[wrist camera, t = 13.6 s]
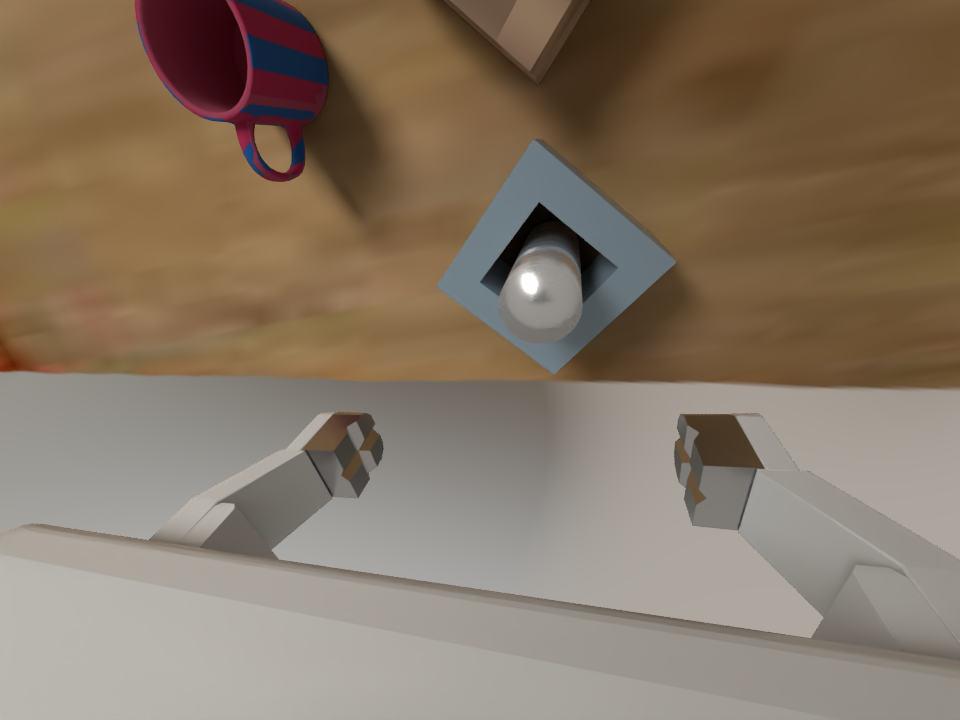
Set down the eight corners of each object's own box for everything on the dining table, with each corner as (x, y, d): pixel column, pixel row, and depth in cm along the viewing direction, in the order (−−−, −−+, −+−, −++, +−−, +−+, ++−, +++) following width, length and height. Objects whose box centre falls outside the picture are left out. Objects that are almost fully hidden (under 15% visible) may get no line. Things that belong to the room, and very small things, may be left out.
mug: (311, -10, 22) (218, -64, 16) (351, 174, 27) (291, 183, 21) (222, 7, 23) (107, -37, 17) (276, 179, 28) (201, 188, 23)
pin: (548, 209, 25) (533, 247, 16) (591, 245, 25) (601, 302, 16) (513, 254, 27) (482, 311, 18) (554, 286, 28) (544, 357, 18)
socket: (542, 139, 23) (533, 138, 18) (655, 237, 24) (676, 261, 19) (460, 261, 28) (436, 286, 23) (557, 335, 30) (553, 374, 25)
